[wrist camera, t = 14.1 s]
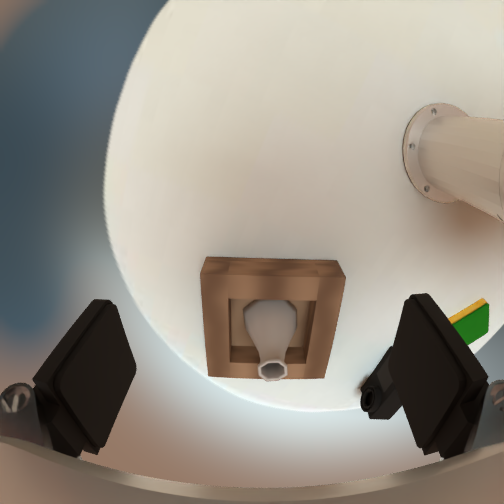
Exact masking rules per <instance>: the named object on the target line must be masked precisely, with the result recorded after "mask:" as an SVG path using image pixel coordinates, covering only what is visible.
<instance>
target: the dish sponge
mask: <svg viewBox="0 0 504 504" xmlns="http://www.w3.org/2000/svg"><path fill="white" fill-rule="evenodd" d="M448 320H449V321H450V322H451V323H452V325H453V326H454V328H455V329H456V330H457V332H458V333H459V334H460V336H461V337H462V338H463V340H464V341H465V343H466V344H467V345H469V344H471V343H472V342H474V341H475V340H477V339H479V338H480V337H482V336H483V335H485V334H486V333H487V332H488V327H489V304H488V303H487V302H486V301H485V300H484V299H483V298H482V299H480V300H478V301H477V302H475V303H474V304H472V305H470V306H469V307H467V308H465V309H464V310H462V311H460V312H459V313H457V314H455V315H453V316H452V317H450V318H448Z"/></svg>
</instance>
